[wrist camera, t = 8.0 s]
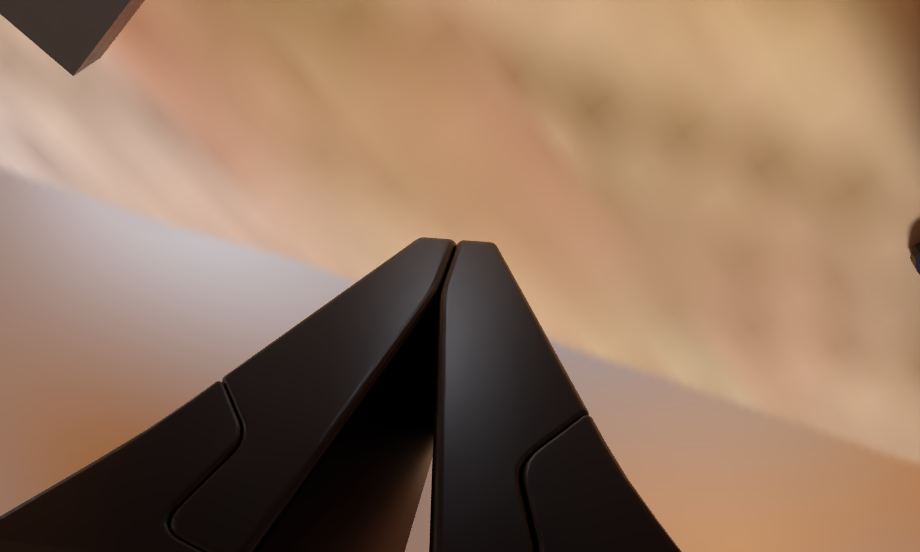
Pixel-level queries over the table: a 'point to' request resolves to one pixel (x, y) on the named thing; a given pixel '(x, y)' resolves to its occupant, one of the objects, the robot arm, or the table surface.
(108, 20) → the pot
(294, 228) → the table surface
